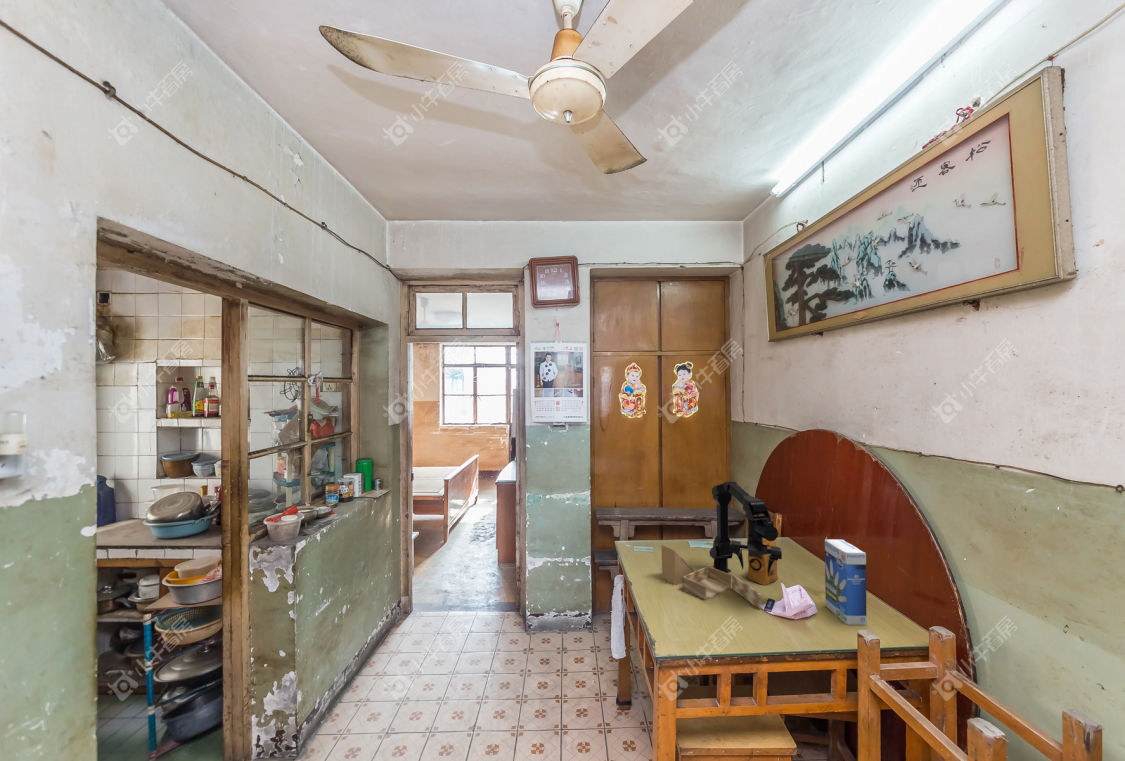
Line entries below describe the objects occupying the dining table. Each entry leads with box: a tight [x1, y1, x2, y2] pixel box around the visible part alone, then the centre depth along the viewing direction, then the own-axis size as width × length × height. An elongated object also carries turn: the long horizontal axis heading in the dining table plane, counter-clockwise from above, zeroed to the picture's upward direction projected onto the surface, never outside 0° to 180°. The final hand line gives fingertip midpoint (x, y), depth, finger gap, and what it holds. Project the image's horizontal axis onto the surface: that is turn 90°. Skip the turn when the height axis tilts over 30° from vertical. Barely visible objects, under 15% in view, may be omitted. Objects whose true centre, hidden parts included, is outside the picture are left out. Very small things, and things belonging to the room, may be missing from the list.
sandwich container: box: [661, 544, 696, 586], centre depth 189 cm, size 9×15×15 cm, turn 119°
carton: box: [681, 565, 732, 601], centre depth 178 cm, size 18×11×5 cm, turn 126°
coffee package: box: [747, 538, 778, 586], centre depth 186 cm, size 10×12×22 cm
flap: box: [731, 574, 762, 610], centre depth 169 cm, size 17×1×6 cm, turn 13°
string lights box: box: [824, 538, 868, 626], centre depth 157 cm, size 13×8×26 cm, turn 178°
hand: (755, 570), depth 169 cm, fingers open, 9 cm apart
